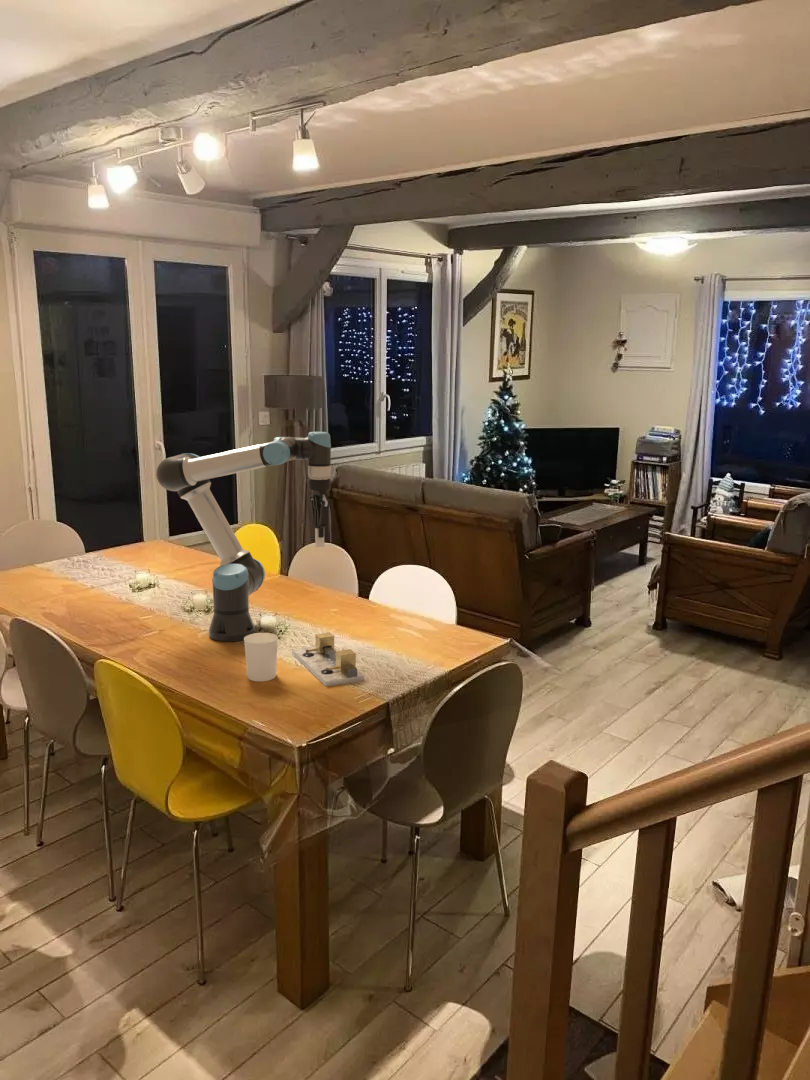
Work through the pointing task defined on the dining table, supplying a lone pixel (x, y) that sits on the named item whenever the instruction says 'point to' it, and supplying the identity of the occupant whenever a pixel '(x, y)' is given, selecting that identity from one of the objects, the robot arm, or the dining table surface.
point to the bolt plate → (330, 665)
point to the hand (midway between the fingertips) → (319, 546)
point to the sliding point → (322, 642)
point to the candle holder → (261, 656)
